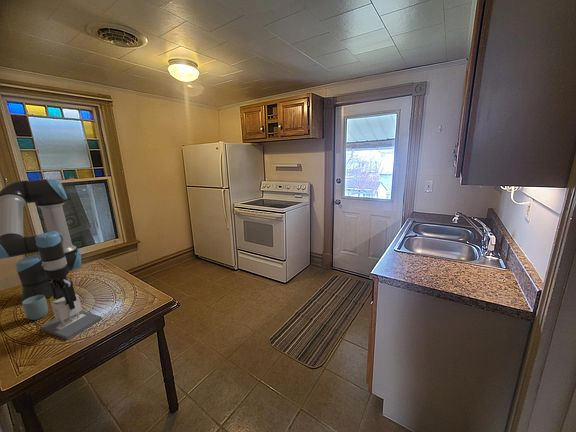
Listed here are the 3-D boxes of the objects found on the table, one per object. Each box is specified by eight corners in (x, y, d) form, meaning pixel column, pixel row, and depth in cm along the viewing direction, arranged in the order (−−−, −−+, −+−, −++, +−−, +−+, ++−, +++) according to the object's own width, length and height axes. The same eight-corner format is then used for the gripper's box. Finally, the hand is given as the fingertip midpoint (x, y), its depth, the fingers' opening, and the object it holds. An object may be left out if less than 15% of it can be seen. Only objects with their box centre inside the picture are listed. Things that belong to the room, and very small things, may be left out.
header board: (40, 329, 110) (36, 318, 108) (75, 311, 122) (72, 300, 121) (67, 339, 103) (64, 327, 101) (102, 319, 116) (99, 308, 114)
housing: (55, 318, 108) (50, 302, 107) (75, 307, 116) (71, 292, 114) (62, 320, 107) (57, 304, 105) (82, 310, 114) (78, 294, 112)
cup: (53, 313, 121) (48, 296, 118) (33, 323, 114) (27, 305, 111) (44, 310, 123) (38, 293, 121) (23, 320, 116) (17, 302, 114)
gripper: (33, 268, 105) (47, 314, 111) (58, 274, 99) (72, 322, 105) (54, 261, 112) (66, 305, 118) (79, 266, 106) (90, 312, 112)
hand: (69, 313), depth 111 cm, fingers closed on housing, 5 cm apart
